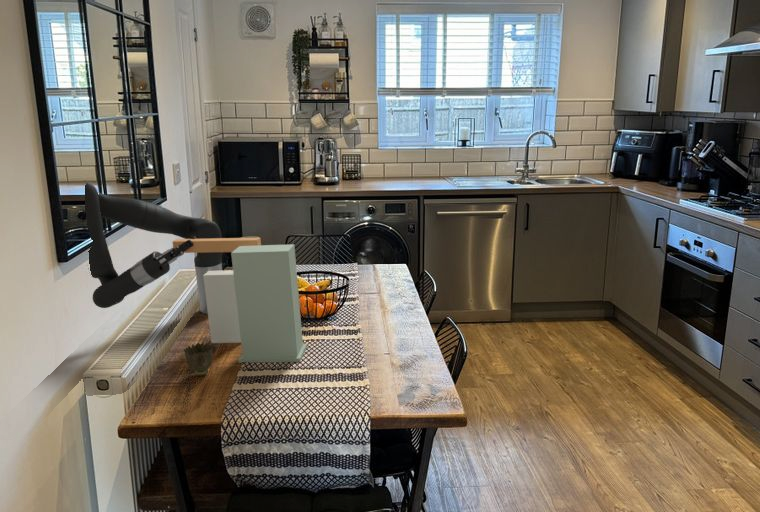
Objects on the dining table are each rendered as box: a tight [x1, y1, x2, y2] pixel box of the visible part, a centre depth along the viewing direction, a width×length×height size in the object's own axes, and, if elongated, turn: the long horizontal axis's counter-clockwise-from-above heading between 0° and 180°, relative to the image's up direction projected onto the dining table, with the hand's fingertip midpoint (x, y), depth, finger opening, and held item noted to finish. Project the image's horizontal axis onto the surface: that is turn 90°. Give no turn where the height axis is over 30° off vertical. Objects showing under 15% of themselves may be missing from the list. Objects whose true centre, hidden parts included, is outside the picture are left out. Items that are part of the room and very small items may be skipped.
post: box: [203, 269, 241, 344], centre depth 191 cm, size 5×10×22 cm, turn 86°
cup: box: [183, 342, 213, 377], centre depth 169 cm, size 8×7×8 cm
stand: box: [230, 243, 308, 364], centre depth 177 cm, size 11×18×32 cm, turn 86°
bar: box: [172, 237, 262, 254], centre depth 186 cm, size 4×26×4 cm, turn 86°
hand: (193, 240), depth 187 cm, fingers closed on bar, 3 cm apart
